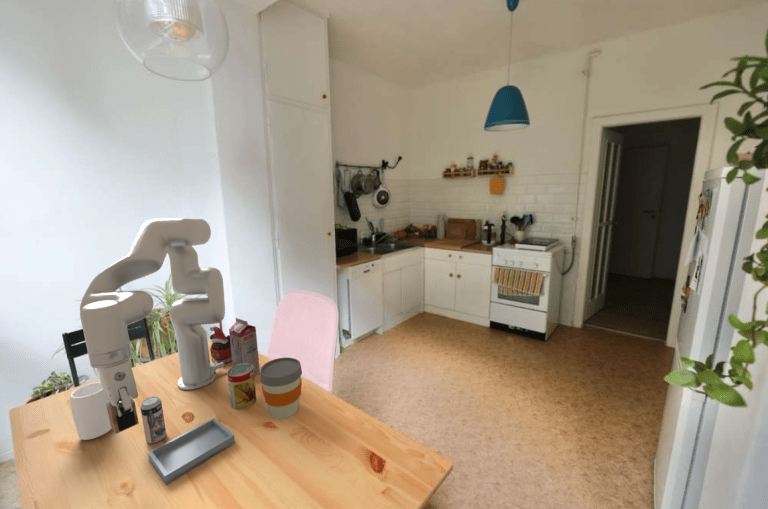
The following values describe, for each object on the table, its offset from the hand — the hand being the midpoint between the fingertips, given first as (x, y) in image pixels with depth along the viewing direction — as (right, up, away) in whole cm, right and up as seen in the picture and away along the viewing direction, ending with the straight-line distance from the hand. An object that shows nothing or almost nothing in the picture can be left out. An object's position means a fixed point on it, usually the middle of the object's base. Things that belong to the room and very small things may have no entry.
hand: (124, 421), depth 80 cm
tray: (+12, -13, +9) cm, 19 cm away
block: (0, -1, 0) cm, 1 cm away
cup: (-21, -12, +16) cm, 29 cm away
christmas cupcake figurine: (-4, -4, +59) cm, 59 cm away
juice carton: (+10, -5, +47) cm, 49 cm away
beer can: (-2, -12, +14) cm, 19 cm away
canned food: (+16, -9, +30) cm, 35 cm away
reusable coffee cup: (+31, -9, +26) cm, 41 cm away
